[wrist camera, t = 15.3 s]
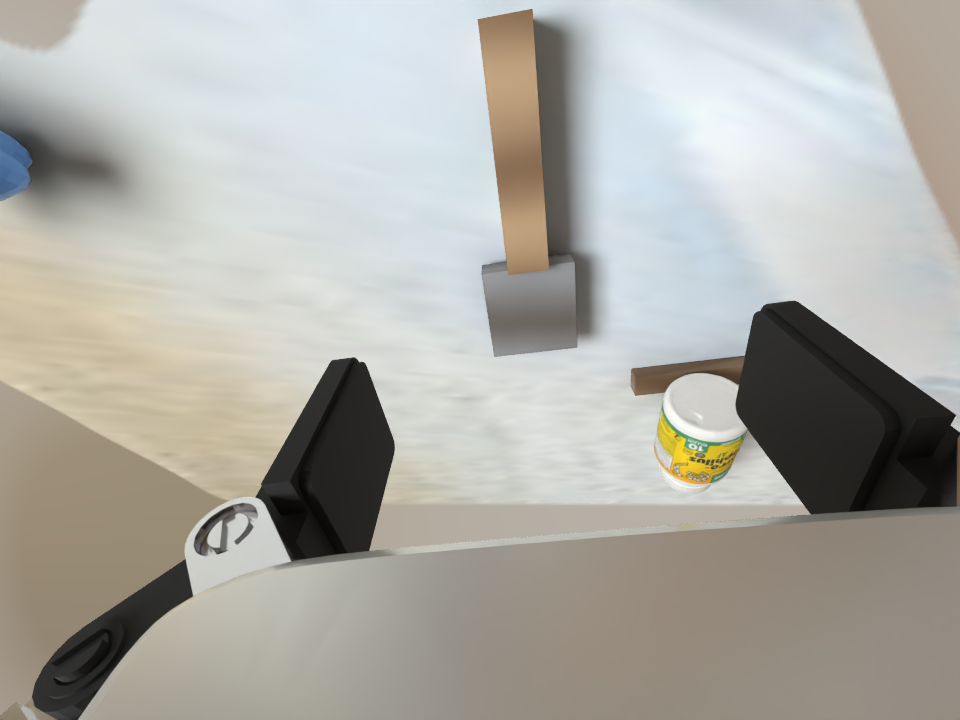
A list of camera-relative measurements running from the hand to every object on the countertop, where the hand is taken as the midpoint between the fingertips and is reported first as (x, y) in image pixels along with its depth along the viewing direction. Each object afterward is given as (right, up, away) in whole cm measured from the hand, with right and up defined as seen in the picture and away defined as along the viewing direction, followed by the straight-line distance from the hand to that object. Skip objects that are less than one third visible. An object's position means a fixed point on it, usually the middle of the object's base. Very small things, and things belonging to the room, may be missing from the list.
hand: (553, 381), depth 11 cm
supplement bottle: (+13, -2, +17) cm, 22 cm away
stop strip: (+15, 0, +21) cm, 26 cm away
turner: (+1, +9, +16) cm, 18 cm away
